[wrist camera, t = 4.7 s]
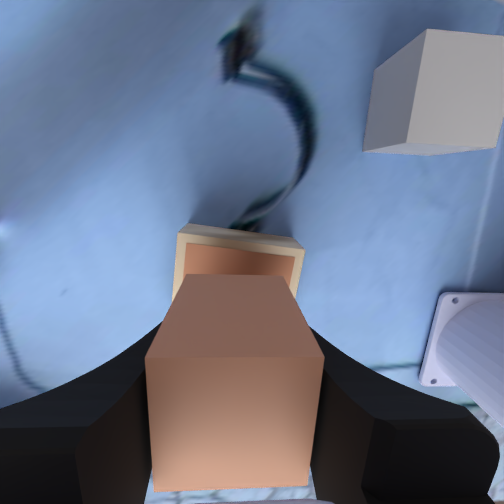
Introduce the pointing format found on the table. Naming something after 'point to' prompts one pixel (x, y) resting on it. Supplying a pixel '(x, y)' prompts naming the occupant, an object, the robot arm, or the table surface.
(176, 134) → the table surface
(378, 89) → the grey block
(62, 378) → the table surface
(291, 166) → the table surface
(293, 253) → the maple base
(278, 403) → the terracotta block
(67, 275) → the table surface
